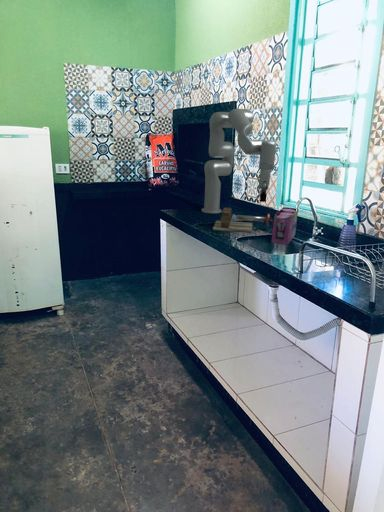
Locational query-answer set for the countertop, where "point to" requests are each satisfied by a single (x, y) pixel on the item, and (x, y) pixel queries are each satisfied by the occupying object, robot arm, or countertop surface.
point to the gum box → (284, 226)
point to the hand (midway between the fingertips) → (262, 199)
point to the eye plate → (231, 223)
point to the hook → (255, 218)
